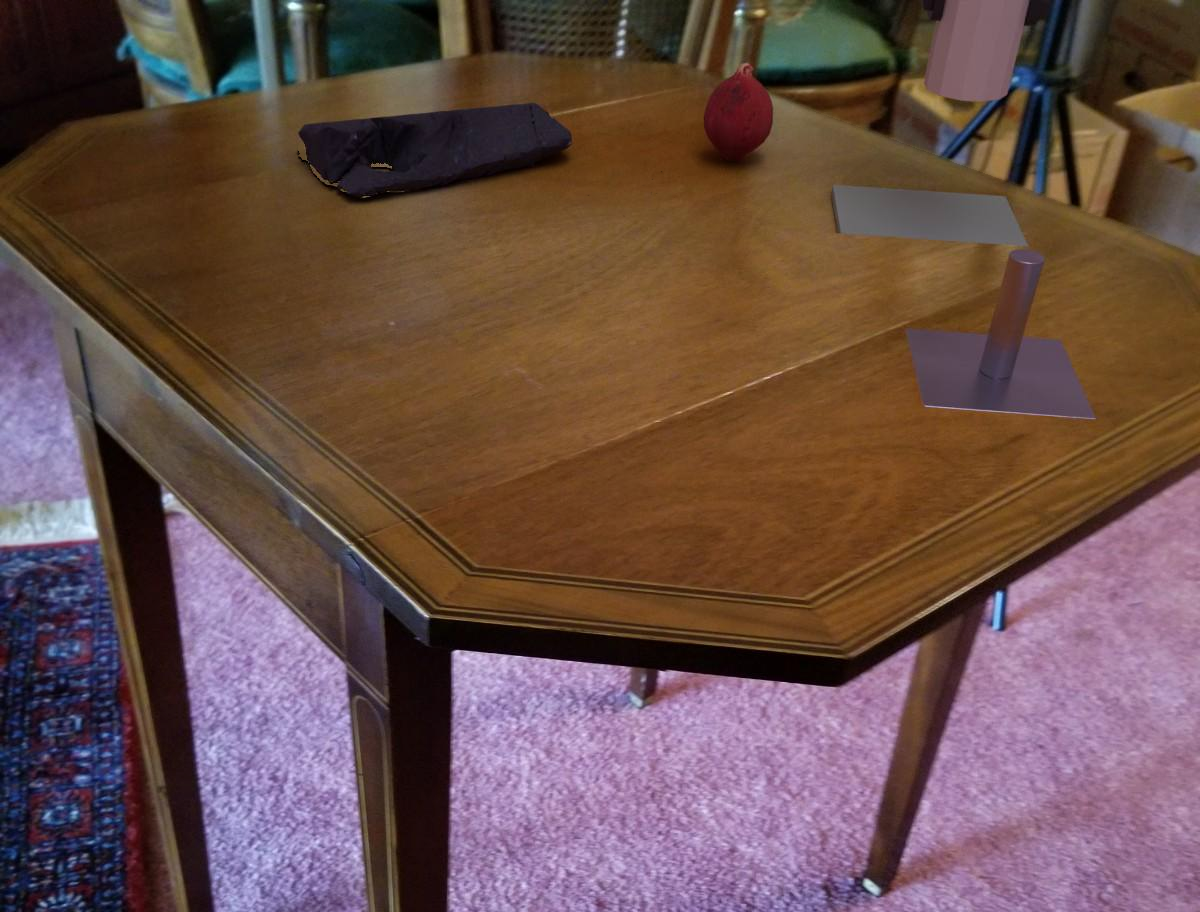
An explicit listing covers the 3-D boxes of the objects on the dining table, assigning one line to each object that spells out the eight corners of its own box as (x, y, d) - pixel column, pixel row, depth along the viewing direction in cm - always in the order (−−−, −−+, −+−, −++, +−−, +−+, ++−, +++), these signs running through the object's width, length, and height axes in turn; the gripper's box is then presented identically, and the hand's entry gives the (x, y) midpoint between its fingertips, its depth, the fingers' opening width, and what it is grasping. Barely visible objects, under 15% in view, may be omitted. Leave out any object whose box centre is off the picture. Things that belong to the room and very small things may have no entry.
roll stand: (1056, 355, 78) (1095, 227, 73) (1091, 436, 71) (1138, 300, 65) (901, 344, 79) (929, 216, 73) (919, 423, 71) (951, 287, 66)
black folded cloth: (594, 173, 101) (596, 114, 98) (336, 208, 93) (330, 146, 90) (522, 116, 111) (522, 61, 108) (285, 143, 103) (278, 86, 100)
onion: (750, 179, 101) (762, 79, 96) (688, 164, 103) (697, 66, 98) (777, 158, 105) (790, 61, 100) (717, 145, 107) (726, 49, 102)
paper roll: (998, 79, 87) (1031, -61, 81) (1012, 104, 82) (1048, -42, 77) (920, 74, 87) (947, -66, 81) (929, 99, 83) (959, -48, 77)
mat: (1003, 205, 98) (1005, 195, 98) (1047, 302, 85) (1050, 292, 84) (831, 193, 99) (832, 184, 99) (846, 288, 85) (848, 277, 85)
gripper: (1154, -286, 74) (1075, 13, 84) (917, -298, 74) (868, 0, 85) (1190, -277, 68) (1100, 42, 79) (933, -290, 68) (878, 28, 79)
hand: (980, 19), depth 82 cm, fingers closed on paper roll, 5 cm apart
